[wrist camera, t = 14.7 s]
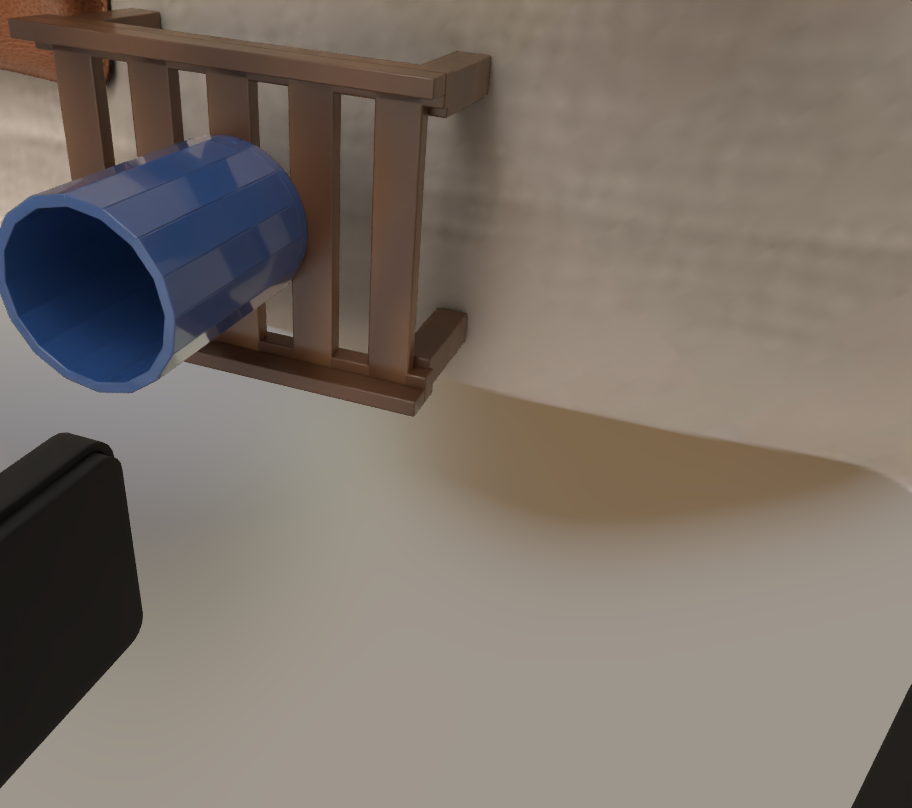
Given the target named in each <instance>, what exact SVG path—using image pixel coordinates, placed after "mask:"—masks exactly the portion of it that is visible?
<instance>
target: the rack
mask: <svg viewBox="0 0 912 808" xmlns="http://www.w3.org/2000/svg"><path fill="white" fill-rule="evenodd" d="M8 26H9V32H10V37H11V38H13V39H20V40H27V41H33V42H35V47H36V48H37V49H43V50H50V51H53V56H54V63H55V70H56V77H57V83H58V90H59V97H60V104H61V110H62V117H63V124H64V131H65V137H66V144H67V151H68V158H69V165H70V171H71V178H72V181H74V180H77V179H80V178H82V177H85V176H88V175H91V174H93V173H96V172H99V171H102V170H105V169H107V168H110V167H113V166H115V158H114V150H113V141H112V133H111V125H110V117H109V108H108V100H107V92H106V84H105V76H104V67H103V60H104V59H110V60H116V61H123V62H127V64H128V73H129V83H130V92H131V101H132V110H133V120H134V129H135V138H136V148H137V157H141V156H144V155H146V154H149V153H152V152H155V151H157V150H160V149H163V148H166V147H169V146H171V145H174V144H177V143H180V142H182V141H184V135H183V123H182V110H181V98H180V85H179V73H178V70H183V71H190V72H197V73H203V74H206V82H207V98H208V113H209V128H210V135H228V136H233V137H237V138H240V139H243V140H245V141H247V142H250V143H252V144H254V145H255V146H257V147H259V148H260V138H259V111H258V84H257V82H264V83H270V84H277V85H284V86H288V96H289V146H290V179H291V181H292V182H293V184H294V186H295V188H296V190H297V192H298V194H299V196H300V199H301V201H302V204H303V207H304V211H305V215H306V221H307V233H308V238H307V248H306V252H305V256H304V259H303V262H302V264H301V267H300V268H299V270H298V272H297V274H296V275H295V276H294V277H293V279H292V293H293V337H290V336H285V335H281V334H276V333H272V332H267V329H266V328H267V326H266V302H264V303H263V304H262V305H260V306H259V307H257V308H256V309H255V310H253V311H252V312H250V313H249V314H248V315H246V316H245V317H244V318H242V319H241V320H239V321H238V322H237V323H235V324H234V325H233V326H231V327H230V328H228V329H227V330H226V331H224V332H223V333H222V334H220V335H219V336H217V337H216V338H215V339H213V340H212V341H211V342H209V343H208V344H206V345H205V346H204V347H202V348H201V349H200V350H198V351H197V352H195V353H194V354H193V355H191V356H190V357H188V358H187V359H186V360H184V362H188V363H192V364H196V365H200V366H204V367H209V368H213V369H217V370H221V371H225V372H229V373H234V374H238V375H242V376H246V377H250V378H255V379H259V380H263V381H267V382H271V383H275V384H279V385H284V386H288V387H292V388H296V389H300V390H304V391H309V392H313V393H317V394H321V395H325V396H329V397H334V398H338V399H342V400H346V401H351V402H354V403H359V404H363V405H367V406H371V407H375V408H380V409H384V410H388V411H392V412H396V413H400V414H404V415H409V416H415V414H416V413H417V412H418V411H419V409H420V408H421V407H422V405H423V404H424V402H425V401H426V400H427V398H428V397H429V396H430V395H431V393H432V386H433V382H434V381H435V380H436V379H437V377H438V376H439V375H440V373H441V372H442V371H443V370H444V368H445V367H446V366H447V364H448V363H449V362H450V360H451V359H452V358H453V356H454V355H455V354H456V353H457V351H458V350H459V349H460V347H461V346H462V345H463V343H464V342H465V336H466V325H467V314H466V313H461V312H457V311H452V310H447V309H442V308H437V309H436V310H435V311H434V312H433V314H432V315H431V316H430V317H429V318H428V319H427V320H426V321H425V322H424V324H423V325H422V326H421V327H420V328H419V329H418V330H417V331H416V332H415V328H416V311H417V293H418V276H419V259H420V241H421V224H422V207H423V190H424V172H425V155H426V138H427V120H428V115H429V116H436V117H442V118H447V117H449V116H450V115H452V114H454V113H456V112H457V111H459V110H461V109H463V108H464V107H466V106H468V105H470V104H471V103H473V102H475V101H477V100H479V99H480V98H482V97H484V96H486V95H487V94H488V84H489V73H490V62H491V56H489V55H482V54H474V53H467V52H459V51H456V52H453V53H450V54H448V55H445V56H443V57H440V58H437V59H435V60H432V61H430V62H427V63H424V64H422V65H417V64H410V63H402V62H395V61H388V60H380V59H373V58H366V57H359V56H351V55H344V54H337V53H330V52H322V51H315V50H308V49H301V48H293V47H286V46H279V45H272V44H264V43H257V42H250V41H242V40H235V39H228V38H221V37H213V36H206V35H199V34H192V33H184V32H177V31H170V30H163V29H161V23H160V13H159V12H156V11H149V10H141V9H134V8H128V9H120V10H113V11H105V12H97V13H89V14H81V15H73V16H61V15H54V14H42V15H34V16H24V17H16V18H9V19H8ZM341 94H344V95H351V96H357V97H364V98H371V99H375V133H374V169H373V204H372V240H371V275H370V311H369V346H368V354H365V353H361V352H357V351H352V350H348V349H343V348H339V249H340V135H341Z"/></svg>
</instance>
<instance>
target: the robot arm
mask: <svg viewBox="0 0 912 808" xmlns="http://www.w3.org/2000/svg"><path fill="white" fill-rule="evenodd" d="M142 620H143V611H142V605H141V597H140V590H139V584H138V577H137V569H136V563H135V556H134V548H133V541H132V534H131V528H130V520H129V513H128V507H127V499H126V492H125V485H124V478H123V471H122V467H121V463H120V462H119V460H118V459H116V458H114V455H113V451H112V450H111V448H110V447H109V445H107V444H105V443H103V442H100V441H96V440H93V439H89V438H85V437H82V436H78V435H74V434H71V433H59V434H57V435H55V436H53V437H51V438H50V439H48V440H47V441H46V442H44V443H42V444H41V445H40V446H38V447H37V448H35V449H34V450H32V451H31V452H30V453H28V454H27V455H25V456H24V457H23V458H21V459H20V460H18V461H17V462H15V463H14V464H12V465H11V466H10V467H8V468H7V469H5V470H4V471H2V472H1V473H0V788H1V787H2V786H3V785H4V784H5V783H6V781H7V780H8V779H9V778H10V777H11V776H12V775H13V774H14V773H15V771H16V770H17V769H18V768H19V767H20V766H21V765H22V764H23V763H24V761H25V760H26V759H27V758H28V757H29V756H30V755H31V754H32V753H33V751H35V749H36V748H37V747H38V746H39V745H40V744H41V743H42V742H43V741H44V740H45V738H46V737H47V736H48V735H49V734H50V733H51V732H52V731H53V730H54V729H55V727H56V726H57V725H58V724H59V723H60V722H61V721H62V720H63V719H64V718H65V716H66V715H67V714H68V713H69V712H70V711H71V710H72V709H73V708H74V707H75V705H76V704H77V703H78V702H79V701H80V700H81V699H82V698H83V697H84V696H85V694H86V693H87V692H88V691H89V690H90V689H91V688H92V687H93V686H94V684H95V683H96V682H97V681H98V680H99V679H100V678H101V677H102V676H103V675H104V674H105V672H106V671H107V670H108V669H109V668H110V667H111V666H112V665H113V664H114V662H115V661H116V660H117V659H118V658H119V657H120V656H121V655H122V654H123V653H124V651H125V650H126V649H127V648H128V647H129V646H130V645H131V644H132V642H133V641H134V640H135V638H136V636H137V635H138V633H139V630H140V628H141V624H142ZM851 808H912V685H911V686H910V688H909V690H908V692H907V694H906V696H905V698H904V700H903V702H902V704H901V707H900V708H899V710H898V713H897V715H896V717H895V719H894V721H893V723H892V725H891V727H890V729H889V731H888V733H887V736H886V738H885V740H884V741H883V744H882V745H881V748H880V750H879V752H878V754H877V756H876V758H875V760H874V762H873V764H872V766H871V768H870V770H869V772H868V774H867V776H866V778H865V781H864V783H863V785H862V787H861V789H860V791H859V793H858V795H857V797H856V799H855V801H854V803H853V805H852V807H851Z"/></svg>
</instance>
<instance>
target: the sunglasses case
mask: <svg viewBox="0 0 912 808" xmlns="http://www.w3.org/2000/svg"><path fill="white" fill-rule="evenodd" d="M105 11H110V0H0V69H2V70H7V71H12V72H17V73H20V74H24V75H29V76H33V77H38V78H43V79H47V80H50V81H55V82H57V77H56V70H55V63H54V56H53V51H50V50H43V49H37V48H36V47H35V42H33V41H27V40H20V39H13V38H11V37H10V32H9V26H8V19H9V18H16V17H24V16H34V15H42V14H54V15H61V16H73V15H81V14H89V13H97V12H105ZM103 67H104V76H105V84H107V82H108V80H109V78H110V74H111V60H110V59H104V60H103Z"/></svg>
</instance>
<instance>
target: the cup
mask: <svg viewBox="0 0 912 808" xmlns="http://www.w3.org/2000/svg"><path fill="white" fill-rule="evenodd" d="M307 238H308V233H307V221H306V215H305V211H304V207H303V204H302V201H301V199H300V196H299V194H298V192H297V190H296V188H295V186H294V184H293V182H292V181H291V179H290V178H289V176H288V175H287V173H286V172H285V171H284V170H283V169H282V167H281V166H280V165H279V164H278V163H277V162H276V161H275V160H274V159H273V158H272V157H271V156H270V155H268V154H267V153H266V152H265V151H263V150H262V149H260V148H259V147H257V146H255V145H254V144H252V143H250V142H247V141H245V140H243V139H240V138H237V137H233V136H228V135H207V136H202V137H199V138H195V139H188V140H185V141H182V142H180V143H177V144H174V145H171V146H169V147H166V148H163V149H160V150H157V151H155V152H152V153H149V154H146V155H144V156H141V157H138V158H135V159H132V160H130V161H127V162H124V163H121V164H119V165H116V166H113V167H110V168H107V169H105V170H102V171H99V172H96V173H93V174H91V175H88V176H85V177H82V178H80V179H77V180H74V181H71V182H68V183H66V184H63V185H60V186H57V187H55V188H52V189H49V190H46V191H43V192H41V193H38V194H35V195H32V196H30V197H28V198H27V199H26V200H24V201H23V202H22V203H20V204H19V205H18V206H16V207H15V208H13V209H12V210H11V211H9V212H8V213H7V214H6V215H5V217H4V220H3V222H2V225H1V228H0V294H1V297H2V299H3V302H4V305H5V307H6V310H7V313H8V315H9V318H10V319H11V321H12V323H13V324H14V325H15V327H16V328H17V329H18V331H19V332H20V334H21V335H22V336H23V338H24V339H25V340H26V342H27V343H28V344H29V346H30V347H31V349H32V350H33V351H34V352H35V353H36V354H37V355H38V356H39V357H40V358H41V359H43V360H44V361H45V362H46V363H48V364H49V365H50V366H51V367H52V368H54V369H55V370H56V371H57V372H58V373H60V374H61V375H62V376H63V377H66V379H69V380H71V381H73V382H76V383H78V384H80V385H83V386H85V387H87V388H90V389H92V390H95V391H97V392H106V393H133V392H135V391H137V390H139V389H141V388H143V387H145V386H147V385H149V384H151V383H153V382H155V381H157V380H158V379H160V378H161V377H162V376H164V375H165V374H166V373H168V372H169V371H170V370H172V369H173V368H175V367H176V366H177V365H179V364H180V363H182V362H183V361H184V360H186V359H187V358H188V357H190V356H191V355H193V354H194V353H195V352H197V351H198V350H200V349H201V348H202V347H204V346H205V345H206V344H208V343H209V342H211V341H212V340H213V339H215V338H216V337H217V336H219V335H220V334H222V333H223V332H224V331H226V330H227V329H228V328H230V327H231V326H233V325H234V324H235V323H237V322H238V321H239V320H241V319H242V318H244V317H245V316H246V315H248V314H249V313H250V312H252V311H253V310H255V309H256V308H257V307H259V306H260V305H262V304H263V303H264V302H266V301H267V300H268V299H270V298H271V297H273V296H274V295H275V294H277V293H278V292H279V291H281V290H282V289H283V287H284V286H285V285H287V284H288V283H289V282H290V281H291V280H292V279H293V277H294V276H295V275H296V274H297V272H298V270H299V268H300V267H301V264H302V262H303V259H304V256H305V252H306V248H307Z"/></svg>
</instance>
